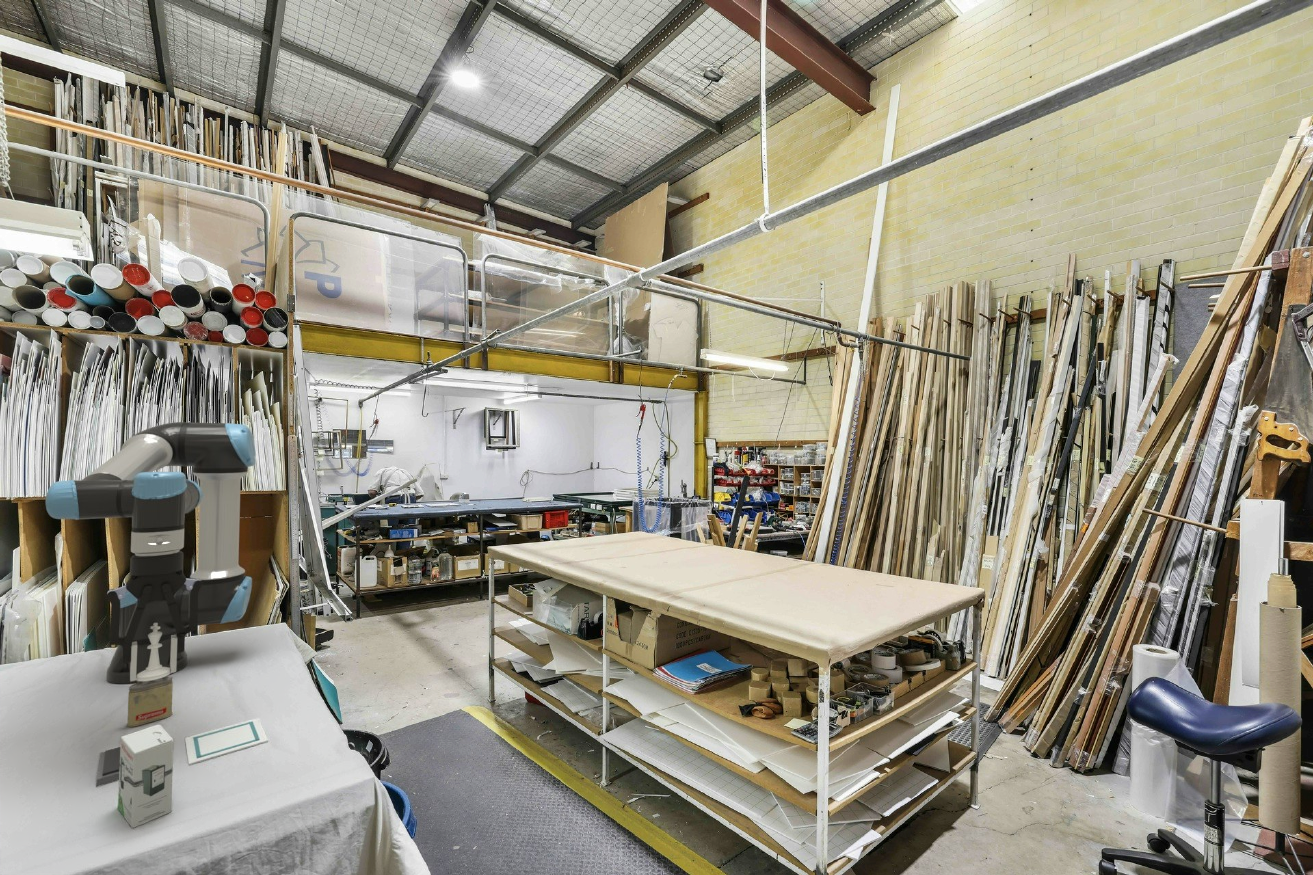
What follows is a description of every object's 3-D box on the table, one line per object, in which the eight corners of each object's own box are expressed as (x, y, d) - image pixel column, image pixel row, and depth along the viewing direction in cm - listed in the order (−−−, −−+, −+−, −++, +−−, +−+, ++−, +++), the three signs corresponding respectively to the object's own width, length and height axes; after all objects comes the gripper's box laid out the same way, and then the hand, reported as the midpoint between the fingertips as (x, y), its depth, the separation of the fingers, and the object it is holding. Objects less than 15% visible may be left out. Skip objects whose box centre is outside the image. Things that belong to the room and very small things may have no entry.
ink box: (116, 808, 88) (118, 734, 88) (156, 792, 92) (158, 722, 92) (131, 829, 83) (133, 752, 84) (173, 811, 87) (175, 738, 88)
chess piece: (149, 682, 101) (151, 628, 101) (128, 679, 101) (130, 626, 102) (177, 671, 105) (179, 620, 106) (157, 669, 106) (158, 618, 106)
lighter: (128, 729, 112) (129, 680, 112) (125, 722, 114) (127, 675, 115) (173, 716, 117) (175, 670, 118) (170, 710, 120) (171, 665, 120)
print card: (184, 739, 109) (185, 737, 109) (258, 719, 117) (258, 717, 117) (188, 765, 100) (188, 763, 100) (268, 741, 108) (268, 739, 108)
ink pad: (99, 759, 101) (99, 750, 101) (157, 743, 107) (157, 735, 107) (96, 786, 93) (96, 777, 93) (159, 767, 99) (159, 759, 99)
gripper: (89, 561, 95) (84, 695, 94) (220, 549, 108) (216, 667, 107) (90, 555, 100) (85, 682, 100) (215, 544, 113) (211, 656, 112)
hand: (153, 674), depth 103 cm, fingers closed on chess piece, 5 cm apart
